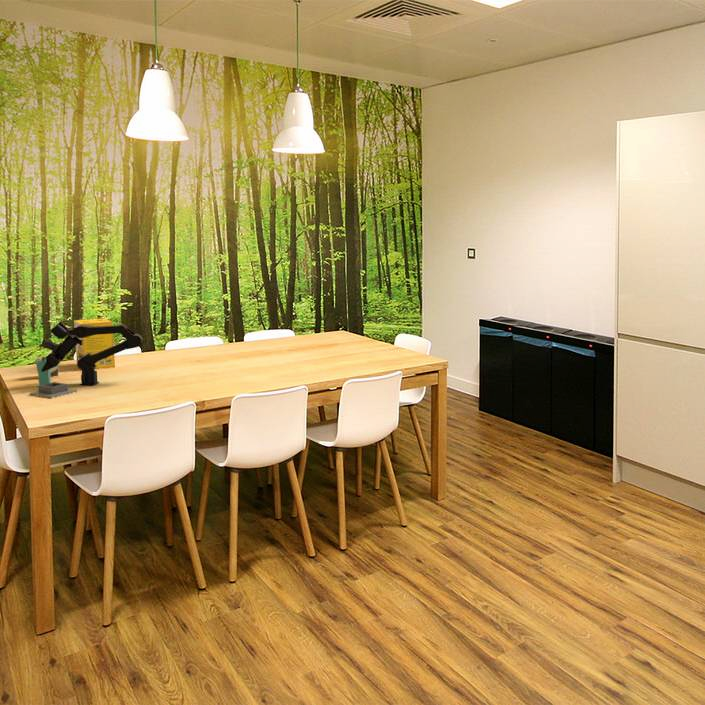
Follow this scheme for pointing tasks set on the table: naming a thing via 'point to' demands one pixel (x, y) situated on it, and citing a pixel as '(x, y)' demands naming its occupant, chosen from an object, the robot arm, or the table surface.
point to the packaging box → (96, 342)
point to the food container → (52, 371)
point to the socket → (53, 390)
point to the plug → (43, 373)
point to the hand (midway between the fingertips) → (43, 369)
